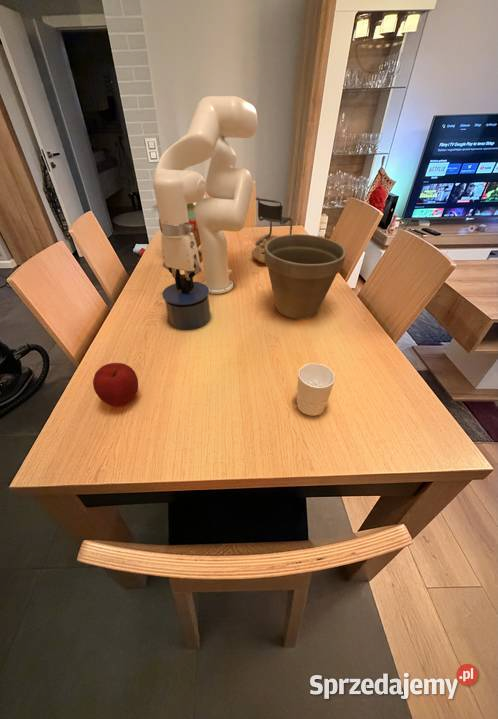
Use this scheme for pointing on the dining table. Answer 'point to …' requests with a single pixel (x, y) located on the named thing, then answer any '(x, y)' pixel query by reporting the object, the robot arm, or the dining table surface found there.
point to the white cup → (314, 388)
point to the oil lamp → (260, 252)
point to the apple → (116, 384)
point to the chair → (272, 214)
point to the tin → (189, 315)
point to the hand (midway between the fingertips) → (185, 288)
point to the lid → (185, 293)
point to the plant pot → (302, 272)
